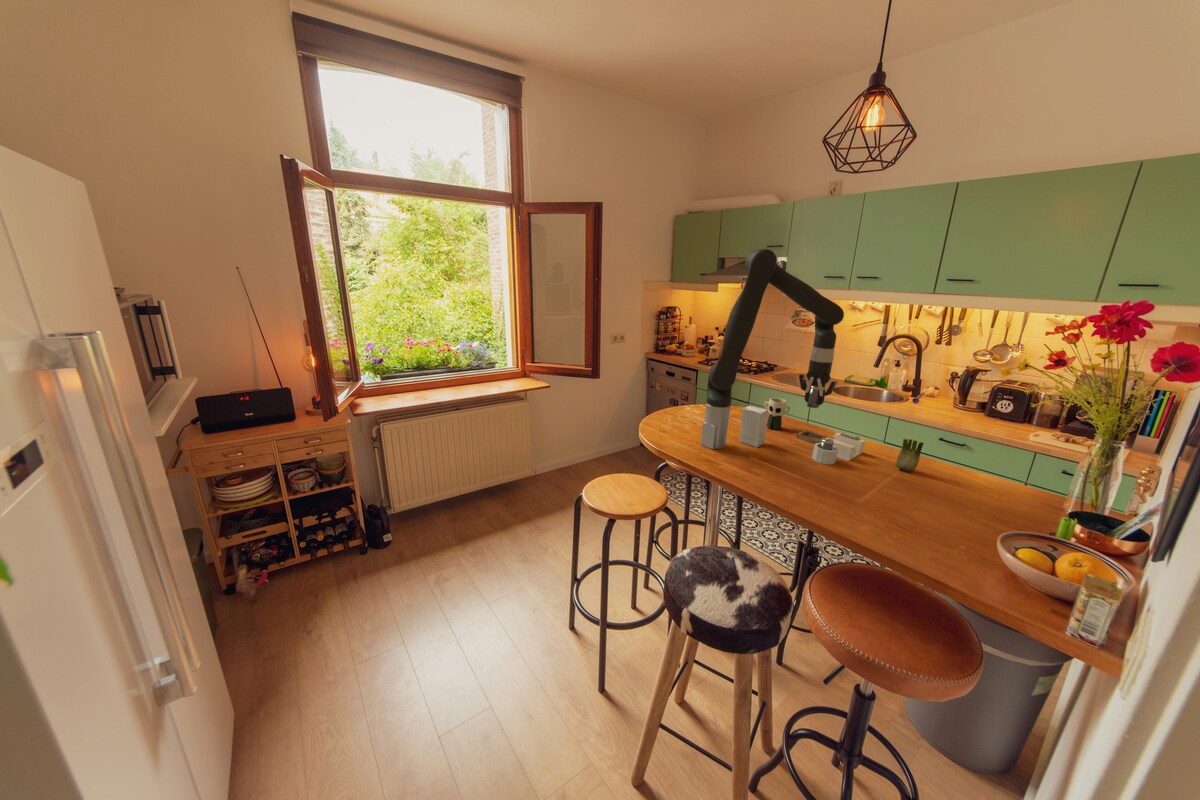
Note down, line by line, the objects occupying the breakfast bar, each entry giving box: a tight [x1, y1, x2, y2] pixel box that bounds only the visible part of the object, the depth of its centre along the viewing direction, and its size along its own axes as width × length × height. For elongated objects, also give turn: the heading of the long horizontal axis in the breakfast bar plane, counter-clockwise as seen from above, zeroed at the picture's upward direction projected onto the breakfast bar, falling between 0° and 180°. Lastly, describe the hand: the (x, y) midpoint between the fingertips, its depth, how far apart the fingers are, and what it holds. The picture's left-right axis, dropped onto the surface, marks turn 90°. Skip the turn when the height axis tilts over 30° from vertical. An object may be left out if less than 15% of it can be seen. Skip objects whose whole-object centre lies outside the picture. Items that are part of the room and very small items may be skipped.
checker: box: [829, 431, 865, 462], centre depth 166 cm, size 12×10×7 cm
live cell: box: [806, 385, 820, 409], centre depth 162 cm, size 4×4×8 cm
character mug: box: [763, 397, 791, 430], centre depth 190 cm, size 11×7×13 cm, turn 51°
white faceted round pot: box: [811, 443, 838, 465], centre depth 159 cm, size 8×8×6 cm
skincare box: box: [739, 405, 768, 448], centre depth 173 cm, size 8×6×15 cm
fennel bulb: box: [895, 438, 925, 473], centre depth 153 cm, size 6×5×12 cm
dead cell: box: [820, 437, 834, 451], centre depth 158 cm, size 4×4×8 cm
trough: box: [796, 429, 833, 445], centre depth 177 cm, size 8×12×2 cm, turn 39°
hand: (813, 403), depth 163 cm, fingers closed on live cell, 4 cm apart
